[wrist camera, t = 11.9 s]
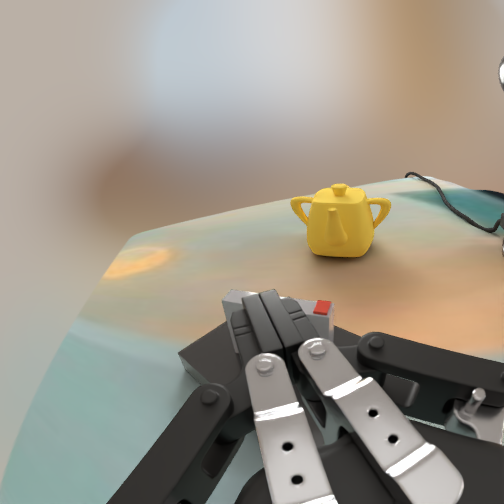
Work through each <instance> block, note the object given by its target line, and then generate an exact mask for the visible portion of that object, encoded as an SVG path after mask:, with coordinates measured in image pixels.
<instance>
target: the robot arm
mask: <svg viewBox="0 0 504 504" xmlns="http://www.w3.org/2000/svg"><path fill="white" fill-rule="evenodd" d="M498 74H499V81H500V84H501V87H502V89H503V91H504V57H503V59H502V60H501V63H500V66H499V73H498ZM410 174H412V175H415V176H417V177H419V178H420V179H422V180H424V181H426V182H428V183H430V184H432V185H433V186H435V187H436V188H437V189H438V191H439V193H440V195H441V197H442V199H443V201H444V203H445V204H446V205H447V206H448V207H449V208H450V209H451V210H452V211H453V212H454V213H455V214H457V215H458V216H460V217H461V218H463V219H465V220H466V221H467V222H469V223H470V224H471V225H473V226H475V227H477V228H480V229H482V230H484V231H486V232H489V233H492V232H495V231H496V230H497V228H498V226H499V225H500V226H501V227H502V228H503V229H504V213H502V214H501V219H499V220H497V222H496V223H495V225H494V227H493V228H484V227H482V226H480V225H478V224H477V223H475V222H474V221H473V220H471V219H470V218H469V217H467V216H466V215H464V214H462V213H461V212H459V211H458V210H456V209H455V208H454V207H453V206H451V205H450V204H449V203H448V201H447V200H446V198H445V196H444V194H443V192H442V191H441V189H440V187H439V186H438V185H437V184H435V183H434V182H432V181H431V180H429V179H426V178H424V177H422V176H420V175H419V174H417V173H414V172H409V173H407V174H406V175H405V178H407V177H408V176H409V175H410ZM502 246H503V249H502V254H503V256H504V240H503V244H502ZM241 300H242V305H243V309H241V310H237V311H233V312H232V315H231V319H230V322H231V326H232V330H233V334H234V338H235V341H236V345H237V349H238V352H239V355H240V359H241V362H242V370H241V372H240V374H239V375H238V376H237V377H236V378H235V379H234V380H232V381H231V382H229V383H227V384H225V385H221V384H217V383H208V384H204V385H202V386H200V387H198V388H197V389H196V390H194V392H193V393H192V394H191V395H190V397H189V398H188V400H187V401H186V402H185V404H184V405H183V406H182V408H181V409H180V410H179V412H178V413H177V414H176V416H175V417H174V418H173V420H172V421H171V422H170V424H169V425H168V426H167V428H166V429H165V430H164V432H163V433H162V434H161V435H160V437H159V438H158V439H157V441H156V442H155V443H154V445H153V446H152V447H151V448H150V450H149V451H148V452H147V454H146V455H145V456H144V457H143V459H142V460H141V461H140V463H139V464H138V465H137V466H136V468H135V469H134V470H133V471H132V473H131V474H130V475H129V476H128V478H127V479H126V480H125V481H124V483H123V484H122V485H121V486H120V488H119V489H118V490H117V491H116V493H115V494H114V495H113V496H112V497H111V499H110V500H109V501H108V502H107V503H106V504H205V503H206V501H207V500H208V498H209V497H210V495H211V494H212V492H213V490H214V489H215V487H216V486H217V484H218V483H219V481H220V479H221V478H222V476H223V474H224V473H225V471H226V470H227V468H228V466H229V465H230V463H231V461H232V459H233V458H234V456H235V454H236V453H237V451H238V449H239V447H240V446H241V444H242V442H243V440H244V438H245V435H246V434H247V433H249V432H251V431H252V430H254V429H256V432H257V436H258V441H259V446H260V450H261V455H262V460H263V464H264V468H262V469H261V470H259V471H258V472H257V473H256V474H254V475H253V476H252V477H251V478H250V479H249V480H248V481H247V483H246V484H245V485H244V487H243V488H242V490H241V492H240V494H239V496H238V498H237V499H236V501H235V503H234V504H504V446H503V445H501V444H502V438H503V433H504V363H501V362H496V361H492V360H487V359H483V358H478V357H474V356H470V355H466V354H462V353H457V352H453V351H449V350H445V349H441V348H437V347H433V346H429V345H425V344H422V343H418V342H414V341H410V340H407V339H403V338H399V337H395V336H392V335H388V334H385V333H381V332H370V333H367V334H365V335H363V336H362V337H361V338H360V339H359V341H358V345H354V346H345V347H337V346H335V344H334V343H333V342H331V341H330V340H327V339H324V338H321V337H320V336H319V334H318V332H317V331H316V329H315V328H314V326H313V325H312V323H311V322H310V320H309V319H308V317H307V316H306V314H305V312H304V311H303V310H302V308H301V306H300V305H299V303H298V302H297V301H295V300H294V299H292V298H290V297H286V298H282V299H280V297H279V295H278V293H277V292H276V290H275V289H272V290H269V291H265V292H261V293H258V294H253V295H249V296H246V297H242V298H241ZM389 374H391V375H389ZM393 375H394V376H393ZM396 376H397V377H396ZM399 377H401V378H399ZM403 378H404V379H403ZM406 379H408V380H406ZM410 380H411V381H410ZM413 381H414V382H413ZM295 384H296V385H297V388H298V390H299V392H300V394H301V399H302V401H303V402H304V404H305V406H306V408H307V409H308V411H309V413H310V414H311V416H312V418H313V419H314V421H315V423H316V425H317V426H318V428H319V430H320V431H321V433H322V436H323V439H324V443H325V445H323V446H316V444H315V441H314V438H313V435H312V433H311V430H310V427H309V424H308V421H307V418H306V415H305V413H304V410H303V408H302V406H300V405H299V403H298V401H297V398H296V395H295V392H294V389H293V386H292V385H295ZM405 415H407V416H410V417H413V418H417V419H420V420H424V421H428V422H431V423H435V424H439V425H443V426H444V427H445V430H443V429H440V428H436V427H433V426H430V425H426V424H423V423H420V422H417V421H413V420H408V419H407V418H406V416H405Z"/></svg>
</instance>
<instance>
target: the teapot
mask: <svg viewBox="0 0 504 504" xmlns="http://www.w3.org/2000/svg"><path fill="white" fill-rule="evenodd" d="M301 203H312V204H311V208H310V212H309V216H308V217H307V216H306V215H305V213H304V212H303V210H302V208H301ZM290 204H291V207H292V209H293V211H294V212H295V214H296V215H297V216H298V217H299V218H300V219H301V220H302V221H303V222H304V223H305V224H306V225H307V242H308V245H309V247H310V249H311V250H312V252H313V253H315V254H317V255H324V256H336V257H360V256H362V255H364V254H365V253H366V252H367V250H368V248H369V247H370V245H371V243H372V241H373V237H374V229H375V228H376V227H377V226H378V225H379V224H380V223H381V222H382V221H383V220H384V219H385V217H386V216H387V215H388V213H389V211H390V208H391V202H390V201H389V200H388V199H385V198H369V199H367V197H366V194H365V192H364V191H363V190H362V189H360V188H349V186H347V185H345V184H334V185H332V186H331V188H324V189H321V190H320V191H318V192H317V193H316V194H315V196H314V198H312V197H295V198H293V199H292V200H291V202H290ZM369 204H378V205H380V206H381V210H380V212H379V214H378V216H377V218H376V219H375V221H374V222H373V216H372V212H371V208H370V205H369Z"/></svg>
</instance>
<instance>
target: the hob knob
mask: <svg viewBox="0 0 504 504" xmlns="http://www.w3.org/2000/svg"><path fill="white" fill-rule="evenodd" d="M253 294H258V293H252V292H246V291H239V290H233V289H231V290H230V291H229V292H228V293H227V295H226V296H225V297H224V298H223V299H222V304H223V308H224V312H225V316H226V320H227V323H228V327H229V331H230V335H231V338H232V342H233V346H234V349H235V352H236V353H239V352H238V349H237V345H236V341H235V338H234V334H233V330H232V326H231V322H230V319H231V315H232V312H233V311H237V310H241V309H243V305H242V300H241V298H242V297H246V296H249V295H253ZM279 297H280V296H279ZM282 298H286V297H280V299H282ZM292 299H294V300H295V301H297V302H298V303H299V305H300V306H301V308H302V310H303V311H304V312H305V314H306V316H307V317H308V319H309V320H310V322H311V323H312V325H313V326H314V328H315V329H316V331H317V332H318V334H319V336H320V337H321V338H324V339H327V340H330V341H331V342H333V334H334V303H331V302H330V301H321V300H318V301H310V300H302V299H295V298H292Z"/></svg>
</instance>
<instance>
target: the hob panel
mask: <svg viewBox="0 0 504 504" xmlns="http://www.w3.org/2000/svg"><path fill="white" fill-rule="evenodd" d="M360 338H361V337H360V336H358V335H356V334H353V333H351V332H348V331H346V330H344V329H341V328H339V327H337V326H334V334H333V343H334V344H335V346H337V347H345V346H354V345H358V341H359V339H360ZM178 355H179V357H180V359H181V361H182V363H183V366H184V368H185V370H186V371H187V372H189V373H190V374H191V375H192V376H193V377H194V378H195V379H196V380H197V381H198V382H199V383H200V384H201V385H204V384H208V383H217V384H221V385H225V384H227V383H229V382H231V381H232V380H234V379H235V378H236V377H237V376H238V375H239V374H240V372H241V370H242V362H241V359H240V355H239V353H236V352H235V349H234V346H233V342H232V338H231V335H230V331H229V327H228V323H227V321H226V322H224V323H223V324H221V325H220V326H218V327H217V328H215V329H214V330H212V331H211V332H209V333H208V334H206V335H205V336H203V337H201V338H200V339H198V340H197V341H195V342H194V343H192V344H191V345H189V346H188V347H186V348H184V349H183V350H181V351H180V352H178ZM292 386H293V389H294V392H295V395H296V398H297V401H298V403H299V405H300V406H302V408H303V410H304V413H305V415H306V418H307V421H308V424H309V427H310V430H311V433H312V435H313V438H314V441H315V444H316V446H323V445H325V443H324V439H323V436H322V433H321V431H320V430H319V428H318V426H317V425H316V423H315V421H314V419H313V418H312V416H311V414H310V413H309V411H308V409H307V408H306V406H305V404H304V402H303V401H302V399H301V394H300V392H299V390H298V388H297V385H296V384H295V385H292ZM254 430H256V429H254Z"/></svg>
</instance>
